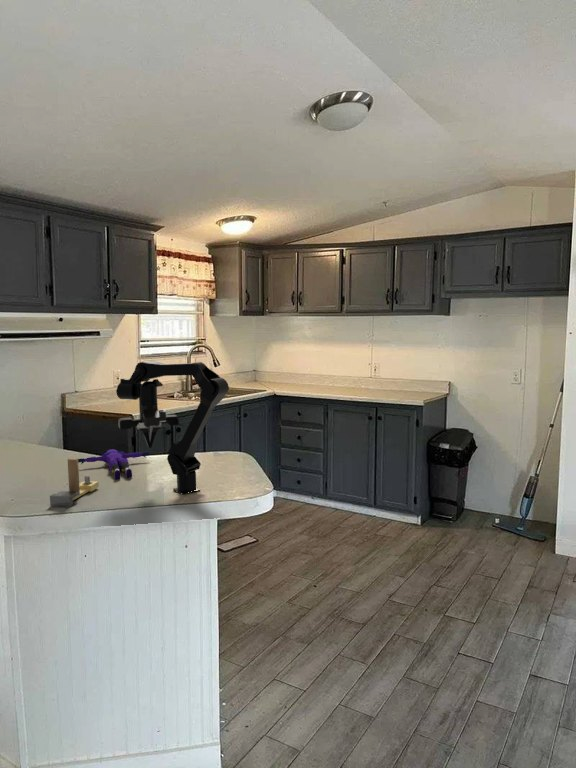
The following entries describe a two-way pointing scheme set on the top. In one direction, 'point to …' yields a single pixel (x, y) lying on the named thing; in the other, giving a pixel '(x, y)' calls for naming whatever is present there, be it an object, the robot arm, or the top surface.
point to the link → (74, 479)
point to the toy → (116, 461)
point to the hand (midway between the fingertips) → (149, 447)
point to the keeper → (63, 498)
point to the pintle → (87, 481)
